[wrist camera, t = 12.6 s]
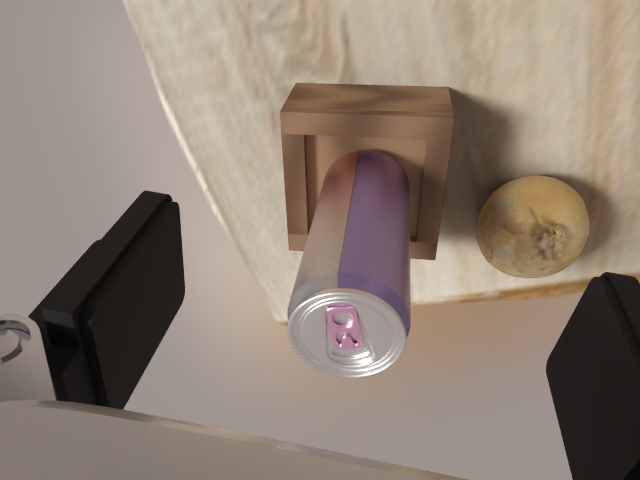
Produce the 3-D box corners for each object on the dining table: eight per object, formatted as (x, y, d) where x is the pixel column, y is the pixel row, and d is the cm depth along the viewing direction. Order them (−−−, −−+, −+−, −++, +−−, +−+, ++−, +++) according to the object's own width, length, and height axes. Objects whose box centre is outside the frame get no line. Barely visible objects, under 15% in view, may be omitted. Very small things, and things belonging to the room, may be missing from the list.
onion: (582, 237, 42) (609, 294, 36) (482, 257, 45) (492, 313, 39) (572, 151, 38) (601, 199, 32) (463, 177, 41) (472, 227, 35)
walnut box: (448, 87, 37) (454, 117, 32) (432, 218, 43) (435, 260, 38) (295, 83, 38) (280, 112, 33) (301, 210, 44) (288, 250, 40)
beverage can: (405, 140, 34) (404, 286, 22) (413, 217, 37) (415, 381, 25) (317, 150, 35) (270, 292, 23) (332, 223, 39) (296, 381, 26)
